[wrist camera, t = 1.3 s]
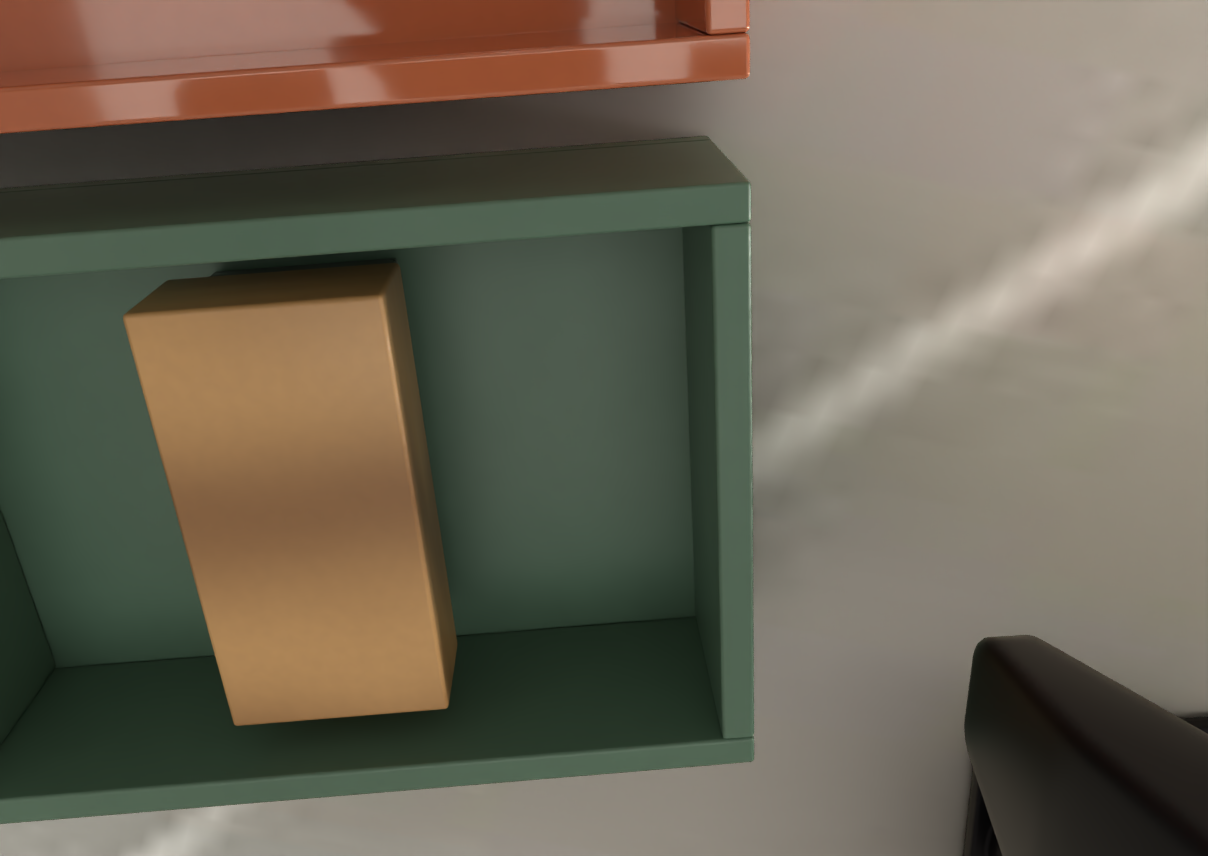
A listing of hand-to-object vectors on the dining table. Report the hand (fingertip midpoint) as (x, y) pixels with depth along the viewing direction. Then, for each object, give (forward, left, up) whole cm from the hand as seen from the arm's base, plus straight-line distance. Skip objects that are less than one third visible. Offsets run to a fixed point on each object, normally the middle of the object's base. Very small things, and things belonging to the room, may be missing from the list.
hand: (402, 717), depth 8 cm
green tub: (-3, +3, -13) cm, 14 cm away
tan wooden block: (-3, +3, -12) cm, 13 cm away
